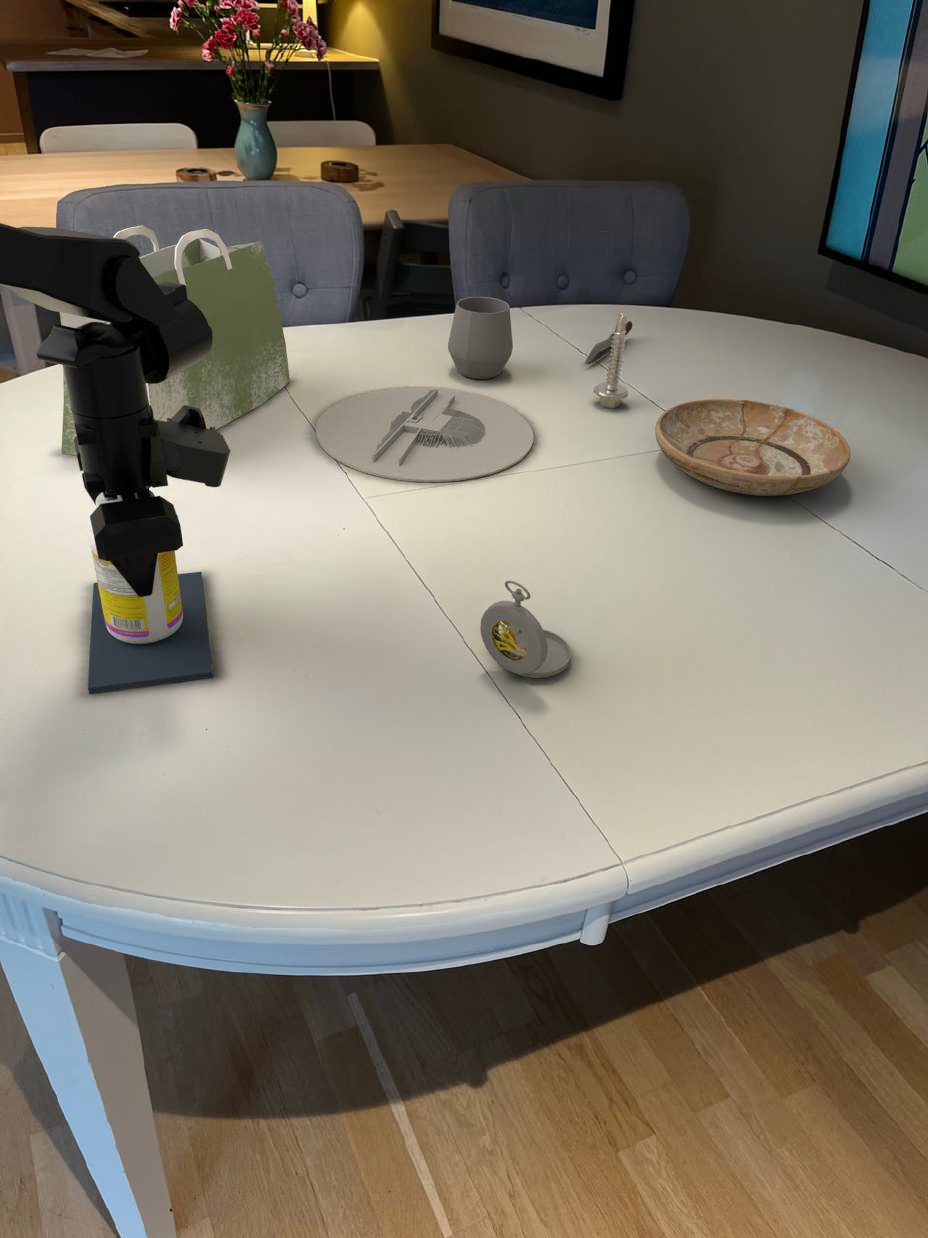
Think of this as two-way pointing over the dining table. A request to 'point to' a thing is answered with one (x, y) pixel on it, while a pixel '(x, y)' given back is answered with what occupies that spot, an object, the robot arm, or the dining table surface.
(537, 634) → the pocket watch
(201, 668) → the placemat
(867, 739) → the dining table surface
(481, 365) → the cup
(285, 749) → the dining table surface
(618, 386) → the screw
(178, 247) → the grocery bag
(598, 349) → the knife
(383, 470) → the plate
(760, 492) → the ceramic bowl
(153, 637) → the supplement bottle
